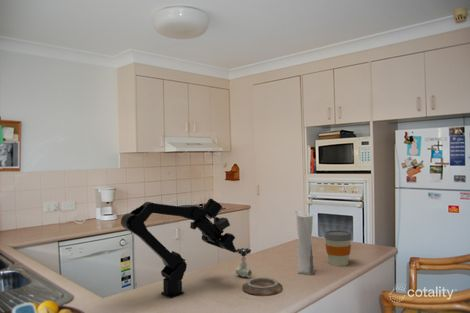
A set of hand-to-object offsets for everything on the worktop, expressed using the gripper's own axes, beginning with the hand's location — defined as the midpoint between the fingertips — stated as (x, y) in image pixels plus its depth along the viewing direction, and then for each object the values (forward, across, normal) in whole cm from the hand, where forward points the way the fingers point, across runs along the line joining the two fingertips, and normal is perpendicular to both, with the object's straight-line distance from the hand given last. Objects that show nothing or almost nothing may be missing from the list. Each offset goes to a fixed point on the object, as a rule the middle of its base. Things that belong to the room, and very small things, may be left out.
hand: (229, 249), depth 164 cm
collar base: (+12, -17, +6) cm, 22 cm away
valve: (+15, 0, +4) cm, 15 cm away
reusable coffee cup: (+49, -12, -30) cm, 59 cm away
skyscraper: (+33, -12, -14) cm, 38 cm away
